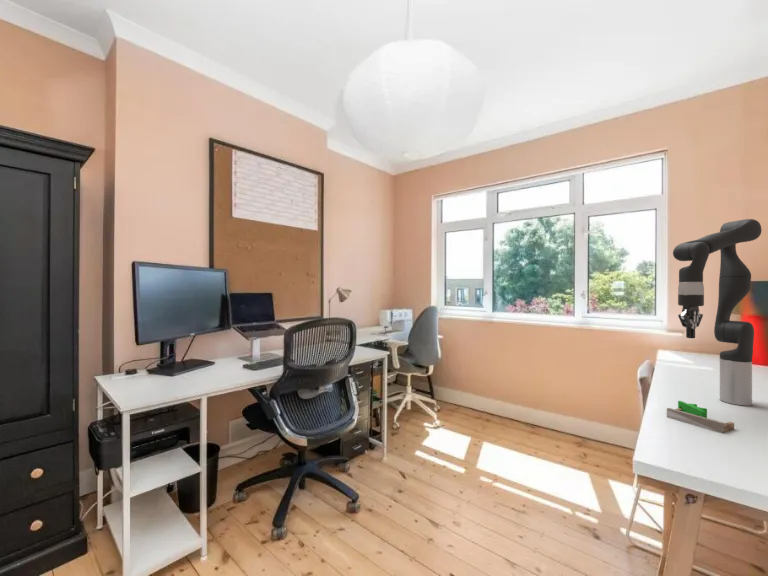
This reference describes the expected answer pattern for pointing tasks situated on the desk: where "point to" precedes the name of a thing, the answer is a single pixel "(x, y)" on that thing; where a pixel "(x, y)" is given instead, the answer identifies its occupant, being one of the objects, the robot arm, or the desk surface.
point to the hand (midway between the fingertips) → (690, 338)
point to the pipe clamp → (692, 409)
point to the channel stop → (699, 420)
